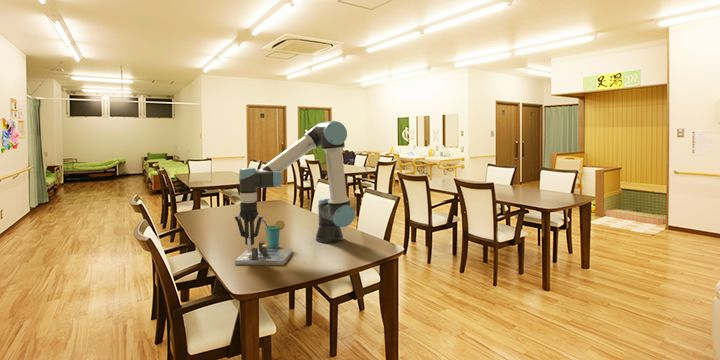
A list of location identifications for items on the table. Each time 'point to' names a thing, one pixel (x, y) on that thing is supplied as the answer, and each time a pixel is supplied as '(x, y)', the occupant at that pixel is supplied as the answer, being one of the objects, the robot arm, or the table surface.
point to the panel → (264, 256)
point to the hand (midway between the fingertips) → (250, 251)
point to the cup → (273, 233)
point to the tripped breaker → (264, 249)
